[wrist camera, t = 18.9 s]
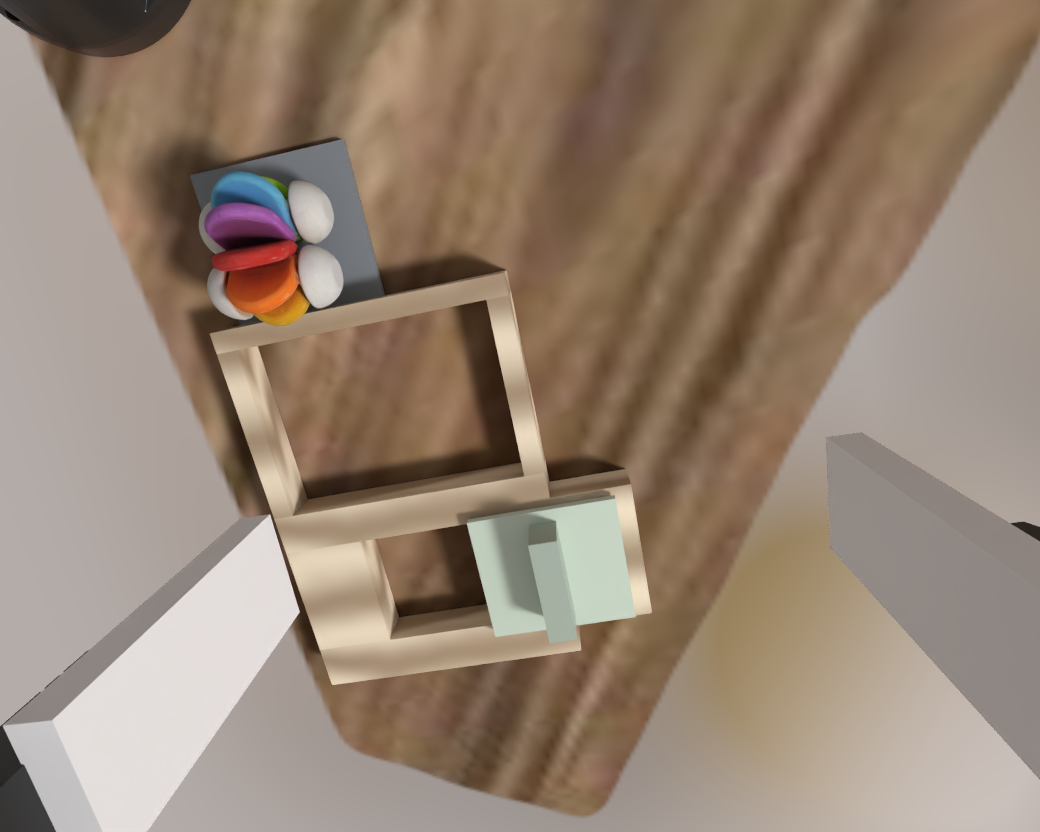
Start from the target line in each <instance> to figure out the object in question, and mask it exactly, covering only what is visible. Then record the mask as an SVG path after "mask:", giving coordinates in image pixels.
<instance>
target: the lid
mask: <svg viewBox="0 0 1040 832" xmlns="http://www.w3.org/2000/svg"><path fill="white" fill-rule="evenodd" d="M467 526H468V530H469V534H470V538H471V542H472V546H473V550H474V554H475V558H476V562H477V566H478V570H479V574H480V578H481V582H482V586H483V590H484V594H485V598H486V602H487V606H488V610H489V614H490V618H491V622H492V626H493V630H494V634H495V637H499V636H506V635H513V634H520V633H527V632H534V631H541V630H547V634H548V638H549V643H556V642H563V641H570V640H577V632H576V625H583V624H590V623H597V622H604V621H610V620H617V619H624V618H631V617H636V615H635V609H634V604H633V598H632V592H631V586H630V580H629V575H628V569H627V563H626V557H625V551H624V546H623V540H622V534H621V528H620V522H619V517H618V511H617V505H616V499H615V495H612V496H606V497H600V498H594V499H588V500H582V501H576V502H570V503H564V504H558V505H552V506H546V507H540V508H534V509H528V510H522V511H516V512H510V513H504V514H497V515H491V516H485V517H479V518H473V519H468V520H467Z"/></svg>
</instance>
